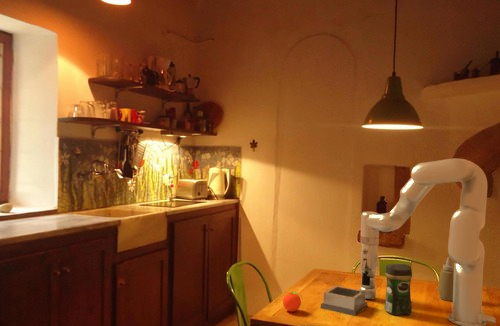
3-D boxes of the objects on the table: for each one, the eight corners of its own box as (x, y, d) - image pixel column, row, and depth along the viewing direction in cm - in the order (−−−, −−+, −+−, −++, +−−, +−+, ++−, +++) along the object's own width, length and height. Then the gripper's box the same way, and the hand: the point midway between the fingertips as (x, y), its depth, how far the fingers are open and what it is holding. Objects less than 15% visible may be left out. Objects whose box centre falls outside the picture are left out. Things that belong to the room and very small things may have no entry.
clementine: (297, 307, 166) (298, 288, 166) (306, 313, 159) (307, 294, 159) (279, 308, 163) (279, 290, 163) (287, 315, 156) (287, 295, 156)
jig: (367, 306, 169) (367, 291, 169) (355, 315, 158) (355, 299, 158) (334, 299, 177) (334, 284, 177) (320, 307, 165) (321, 292, 165)
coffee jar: (403, 308, 168) (404, 261, 168) (414, 315, 160) (416, 266, 160) (380, 309, 166) (382, 262, 166) (391, 316, 158) (392, 266, 158)
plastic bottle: (376, 301, 176) (378, 253, 176) (359, 300, 177) (361, 252, 177) (375, 297, 182) (376, 250, 182) (359, 295, 183) (360, 249, 183)
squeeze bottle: (436, 300, 181) (438, 257, 181) (438, 295, 188) (439, 254, 188) (458, 303, 177) (459, 260, 177) (458, 298, 184) (459, 257, 184)
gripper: (372, 244, 170) (370, 289, 170) (384, 239, 185) (382, 281, 185) (353, 242, 174) (352, 286, 174) (367, 237, 189) (365, 278, 189)
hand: (368, 283), depth 179 cm, fingers closed on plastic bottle, 5 cm apart
